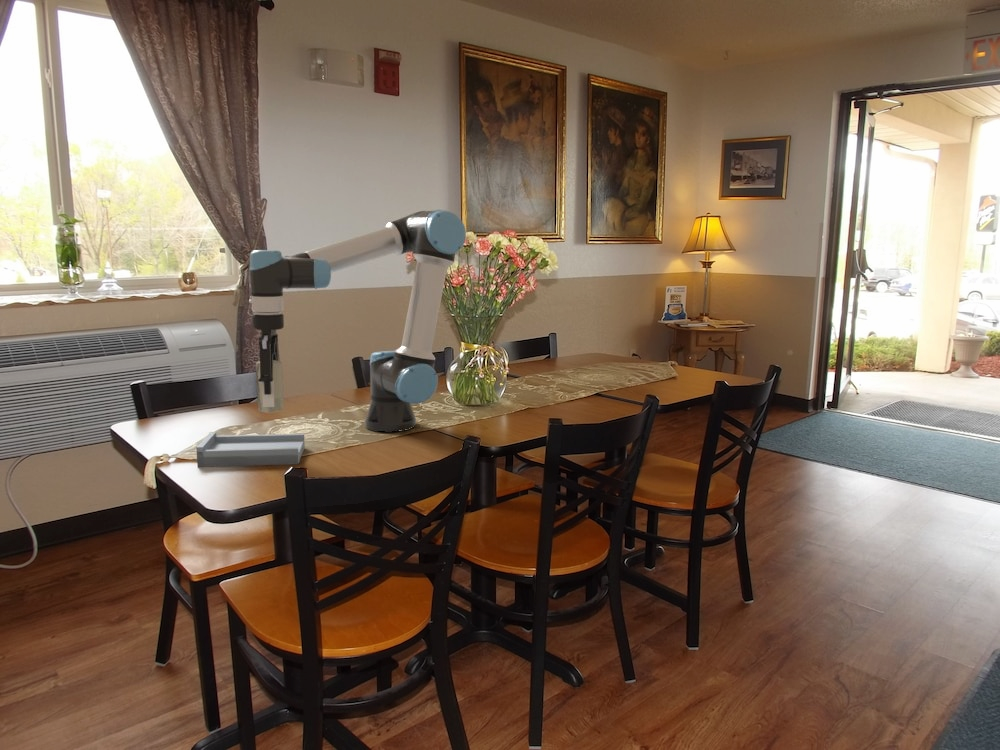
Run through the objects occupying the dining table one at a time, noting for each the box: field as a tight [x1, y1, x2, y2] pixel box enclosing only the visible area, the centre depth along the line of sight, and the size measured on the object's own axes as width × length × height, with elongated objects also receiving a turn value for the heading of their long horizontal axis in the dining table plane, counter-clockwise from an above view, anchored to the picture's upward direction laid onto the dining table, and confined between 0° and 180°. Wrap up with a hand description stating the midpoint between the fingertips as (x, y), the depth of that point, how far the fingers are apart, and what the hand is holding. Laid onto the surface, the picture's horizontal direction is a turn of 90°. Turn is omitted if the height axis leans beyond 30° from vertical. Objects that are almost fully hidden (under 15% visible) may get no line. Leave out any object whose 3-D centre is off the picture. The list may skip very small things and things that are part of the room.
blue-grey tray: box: [195, 431, 306, 468], centre depth 184 cm, size 24×14×5 cm, turn 99°
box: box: [255, 360, 285, 414], centre depth 181 cm, size 5×4×13 cm
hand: (270, 403), depth 182 cm, fingers closed on box, 6 cm apart
